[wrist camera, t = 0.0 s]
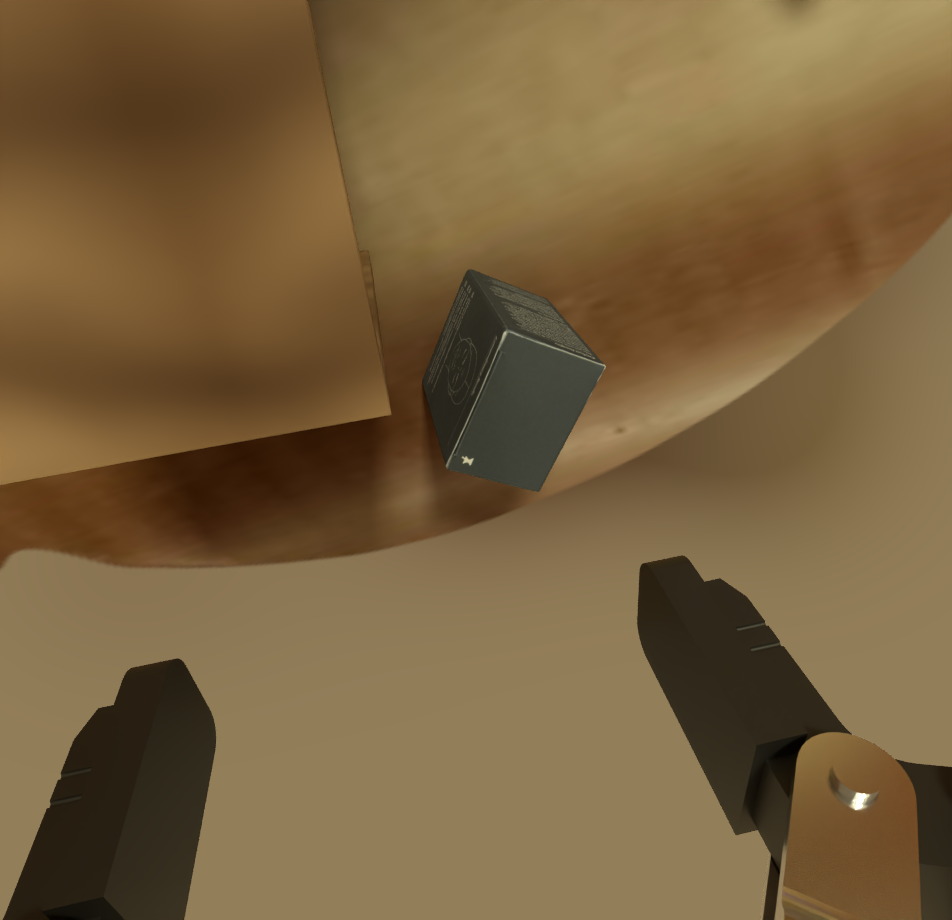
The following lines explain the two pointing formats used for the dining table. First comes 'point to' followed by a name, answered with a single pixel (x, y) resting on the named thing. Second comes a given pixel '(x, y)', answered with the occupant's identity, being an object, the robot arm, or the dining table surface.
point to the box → (506, 383)
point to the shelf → (172, 235)
